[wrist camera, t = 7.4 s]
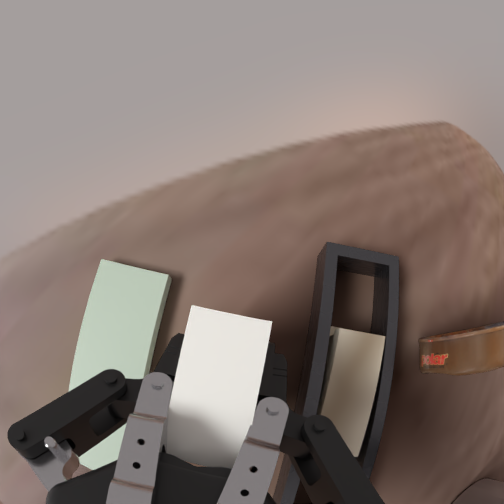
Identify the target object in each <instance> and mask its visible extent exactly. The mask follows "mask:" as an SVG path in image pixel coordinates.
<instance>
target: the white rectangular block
mask: <svg viewBox="0 0 504 504" xmlns="http://www.w3.org/2000/svg"><path fill="white" fill-rule="evenodd" d="M271 326H272V321H266V320H261V319H256V318H250V317H245V316H240V315H235V314H230V313H225V312H221V311H216V310H211V309H207V308H202V307H198V306H194V305H192V306H191V310H190V314H189V318H188V323H187V327H186V331H185V335H184V340H183V344H182V348H181V353H180V357H179V362H178V366H177V371H176V375H175V380H174V385H173V390H172V395H171V400H170V405H169V410H168V426H167V453H168V454H171V455H174V456H176V457H178V458H179V459H181V460H183V461H187V462H190V463H194V464H198V465H203V466H207V467H225V468H230V469H232V468H233V465H234V463H235V461H236V458H237V456H238V453H239V451H240V449H241V446H242V444H243V441H244V439H245V437H246V435H247V432H248V429H249V427H250V425H252V422H253V418H254V413H255V408H256V403H257V398H258V394H259V389H260V384H261V379H262V374H263V369H264V363H265V358H266V353H267V348H268V342H269V337H270V331H271Z"/></svg>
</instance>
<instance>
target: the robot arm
mask: <svg viewBox="0 0 504 504" xmlns="http://www.w3.org/2000/svg"><path fill="white" fill-rule="evenodd" d="M183 340H184V334H180V333H178V334H177V335H175V336H174V337H173V338H171V340H170V342H169V344H168V346H167V348H166V350H165V352H164V353H163V355H162V357H161V359H160V361H159V363H158V365H157V367H156V369H155V370H154V372H153V373H150V374H148V375H146V376H145V377H144V378H143V379H129V378H125V376H124V374H123V373H122V372H120V371H118V370H115V369H107V370H104V371H102V372H100V373H99V374H97V375H96V376H94V377H92V378H91V379H89V380H87V381H86V382H84V383H82V384H81V385H79V386H77V387H76V388H74V389H73V390H71V391H69V392H68V393H66V394H64V395H63V396H61V397H59V398H57V399H56V400H54V401H52V402H51V403H49V404H47V405H46V406H44V407H42V408H41V409H39V410H37V411H35V412H34V413H32V414H30V415H29V416H27V417H25V418H23V419H22V420H20V421H18V422H16V423H15V424H13V425H12V426H11V427H10V428H9V430H8V440H9V442H10V444H11V445H12V446H13V447H14V448H15V449H16V450H17V451H18V453H19V454H20V455H21V456H22V457H23V458H24V459H25V460H26V461H27V462H28V463H29V465H30V466H31V468H32V469H33V471H34V472H35V474H36V475H37V477H38V478H39V479H40V481H41V482H42V484H43V485H44V486H45V488H46V489H47V490H48V495H47V498H46V504H276V502H275V501H274V500H273V498H272V497H271V496H270V494H269V493H268V492H267V491H268V488H269V485H270V482H271V479H272V476H273V473H274V469H275V466H276V463H277V459H278V456H279V452H280V451H281V452H283V453H286V454H288V456H289V458H290V460H291V462H292V464H293V466H294V468H295V470H296V472H297V474H298V476H299V478H300V480H301V482H302V484H303V486H304V488H305V490H306V492H307V494H308V496H309V498H310V500H311V502H312V504H385V503H384V502H383V500H382V499H381V497H380V496H379V494H378V493H377V491H376V490H375V488H374V487H373V485H372V484H371V482H370V481H369V479H368V477H367V476H366V474H365V473H364V471H363V470H362V468H361V467H360V465H359V463H358V462H357V460H356V459H355V457H354V456H353V454H352V452H351V451H350V449H349V448H348V446H347V445H346V443H345V441H344V440H343V438H342V437H341V435H340V433H339V432H338V430H337V429H336V427H335V425H334V424H333V422H332V421H331V420H330V419H329V418H328V417H326V416H323V415H312V416H310V417H308V418H307V417H304V416H301V415H299V414H296V413H295V412H293V411H292V410H291V409H290V408H289V407H288V405H287V402H286V392H287V361H286V359H285V357H284V355H283V354H277V353H275V343H270V342H268V348H267V353H266V358H265V363H264V369H263V374H262V379H261V384H260V389H259V394H258V398H257V403H256V408H255V413H254V418H253V422H252V425H250V427H249V429H248V432H247V435H246V437H245V439H244V441H243V444H242V446H241V449H240V451H239V453H238V456H237V458H236V461H235V463H234V465H233V468H232V469H230V468H225V467H196V466H193V465H191V464H189V463H187V462H185V461H183V460H181V459H179V458H178V457H176V456H174V455H171V454H168V453H167V426H168V410H169V405H170V400H171V395H172V390H173V385H174V380H175V375H176V371H177V366H178V362H179V357H180V353H181V348H182V344H183ZM126 423H127V424H126ZM125 424H126V427H125V431H124V435H123V439H122V443H121V447H120V452H119V456H118V459H117V460H115V461H113V462H111V463H109V464H106V465H104V466H102V467H100V468H97V469H95V470H92V471H90V472H88V473H85V474H83V475H80V476H77V477H75V478H72V474H73V473H74V472H75V471H76V470H77V468H78V467H79V457H80V456H81V455H83V454H84V453H86V452H87V451H89V450H90V449H91V448H93V447H94V446H96V445H97V444H99V443H100V442H101V441H103V440H104V439H105V438H107V437H108V436H110V435H111V434H112V433H114V432H115V431H116V430H118V429H119V428H121V427H122V426H123V425H125ZM71 478H72V479H71ZM452 504H504V482H502V481H497V480H492V479H488V478H486V479H482V480H479V481H477V482H476V483H474V484H473V485H471V486H470V487H469V488H468V489H466V490H465V491H464V492H463V493H462V494H461V495H460V496H459V497H458V498H457V499H456V500H455V501H454V502H453V503H452Z"/></svg>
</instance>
